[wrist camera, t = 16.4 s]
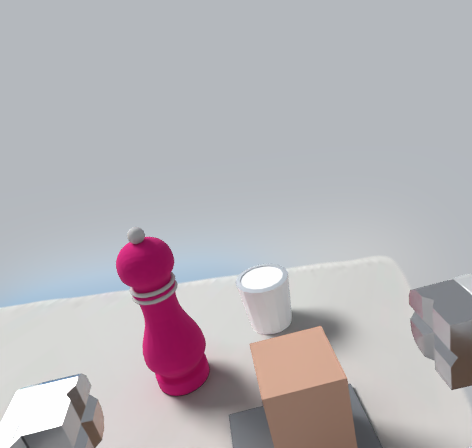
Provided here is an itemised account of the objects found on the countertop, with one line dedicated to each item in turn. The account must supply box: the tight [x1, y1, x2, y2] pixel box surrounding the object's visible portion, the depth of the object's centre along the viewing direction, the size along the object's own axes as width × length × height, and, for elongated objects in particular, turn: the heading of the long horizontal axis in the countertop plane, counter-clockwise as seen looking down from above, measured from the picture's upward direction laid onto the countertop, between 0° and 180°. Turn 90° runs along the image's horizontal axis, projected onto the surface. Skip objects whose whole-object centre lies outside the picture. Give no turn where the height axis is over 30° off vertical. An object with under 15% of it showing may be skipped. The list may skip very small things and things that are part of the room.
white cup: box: [235, 264, 292, 335], centre depth 56 cm, size 7×7×7 cm
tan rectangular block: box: [250, 326, 357, 448], centre depth 37 cm, size 7×7×10 cm
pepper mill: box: [116, 227, 209, 396], centre depth 47 cm, size 7×7×20 cm
